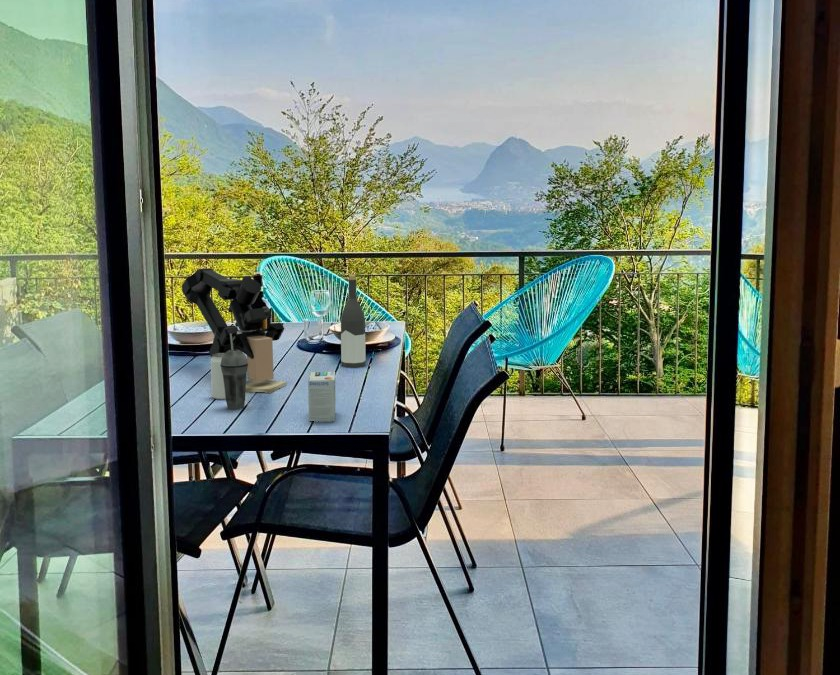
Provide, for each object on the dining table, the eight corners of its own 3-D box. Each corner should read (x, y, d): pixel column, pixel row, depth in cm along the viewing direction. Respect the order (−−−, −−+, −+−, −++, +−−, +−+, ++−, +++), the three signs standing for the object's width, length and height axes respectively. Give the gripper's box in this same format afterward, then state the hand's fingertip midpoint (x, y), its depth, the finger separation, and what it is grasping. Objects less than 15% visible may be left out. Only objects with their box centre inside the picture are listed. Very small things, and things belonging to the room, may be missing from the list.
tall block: (247, 378, 255) (246, 337, 253) (264, 375, 259) (263, 335, 257) (256, 381, 251) (255, 340, 249) (273, 378, 254) (272, 338, 252)
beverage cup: (254, 405, 235) (252, 331, 231) (240, 411, 228) (238, 335, 225) (231, 403, 237) (228, 330, 234) (216, 409, 230) (213, 334, 227)
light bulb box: (310, 412, 227) (309, 371, 226) (336, 411, 228) (335, 371, 226) (308, 422, 217) (307, 380, 215) (335, 421, 217) (335, 379, 216)
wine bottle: (370, 364, 291) (369, 274, 286) (356, 368, 284) (354, 276, 279) (351, 362, 295) (349, 273, 290) (336, 366, 288) (334, 275, 283)
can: (229, 400, 241) (228, 357, 239) (208, 399, 242) (206, 356, 240) (239, 395, 247) (237, 353, 245) (217, 394, 248) (216, 352, 246)
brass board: (234, 391, 252) (234, 387, 251) (252, 383, 262) (252, 379, 262) (269, 393, 249) (269, 389, 248) (286, 385, 259) (286, 381, 259)
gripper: (222, 300, 249) (240, 343, 242) (280, 295, 260) (299, 337, 253) (211, 324, 256) (229, 367, 249) (269, 318, 267) (287, 359, 260)
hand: (262, 357), depth 253 cm, fingers closed on tall block, 5 cm apart
